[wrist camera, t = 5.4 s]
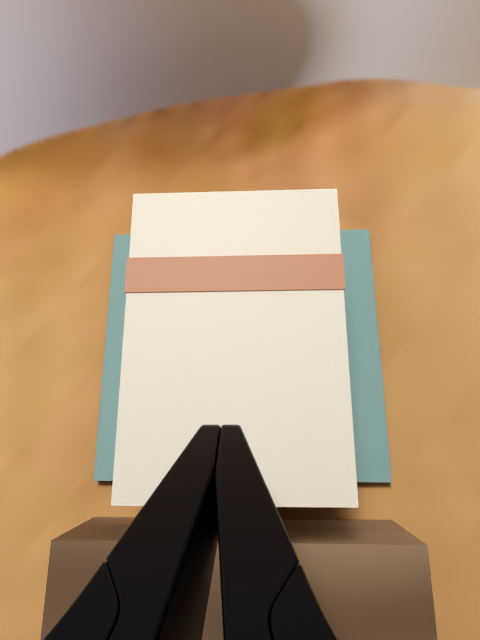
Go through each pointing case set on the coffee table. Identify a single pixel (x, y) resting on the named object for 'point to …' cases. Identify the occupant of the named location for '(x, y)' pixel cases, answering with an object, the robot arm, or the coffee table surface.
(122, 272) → the mat
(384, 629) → the plate
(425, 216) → the coffee table surface
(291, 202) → the card box
